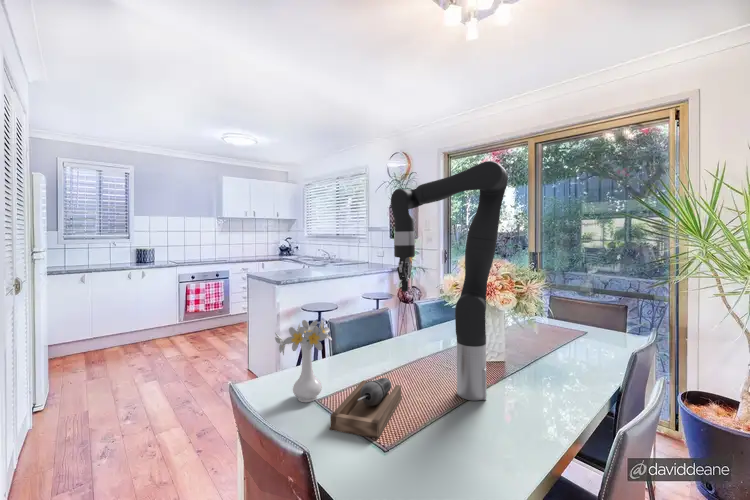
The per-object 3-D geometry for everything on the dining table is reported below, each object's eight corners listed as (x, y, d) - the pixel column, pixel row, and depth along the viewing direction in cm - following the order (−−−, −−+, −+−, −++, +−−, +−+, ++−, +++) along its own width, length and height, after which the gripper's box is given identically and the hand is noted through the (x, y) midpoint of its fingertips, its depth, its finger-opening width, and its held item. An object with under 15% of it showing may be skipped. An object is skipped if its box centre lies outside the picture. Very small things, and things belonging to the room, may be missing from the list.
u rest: (402, 397, 111) (402, 385, 111) (378, 438, 89) (378, 423, 89) (361, 392, 116) (361, 380, 116) (329, 429, 93) (329, 415, 93)
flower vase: (270, 401, 110) (268, 323, 109) (320, 384, 122) (318, 314, 121) (289, 417, 100) (287, 331, 100) (341, 397, 112) (340, 321, 112)
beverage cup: (396, 395, 114) (374, 413, 96) (376, 396, 117) (351, 414, 98) (393, 372, 116) (371, 386, 97) (373, 374, 118) (348, 387, 100)
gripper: (410, 244, 119) (410, 294, 120) (418, 243, 132) (418, 288, 132) (389, 244, 122) (390, 293, 122) (399, 243, 134) (399, 288, 135)
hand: (405, 291), depth 127 cm, fingers closed
